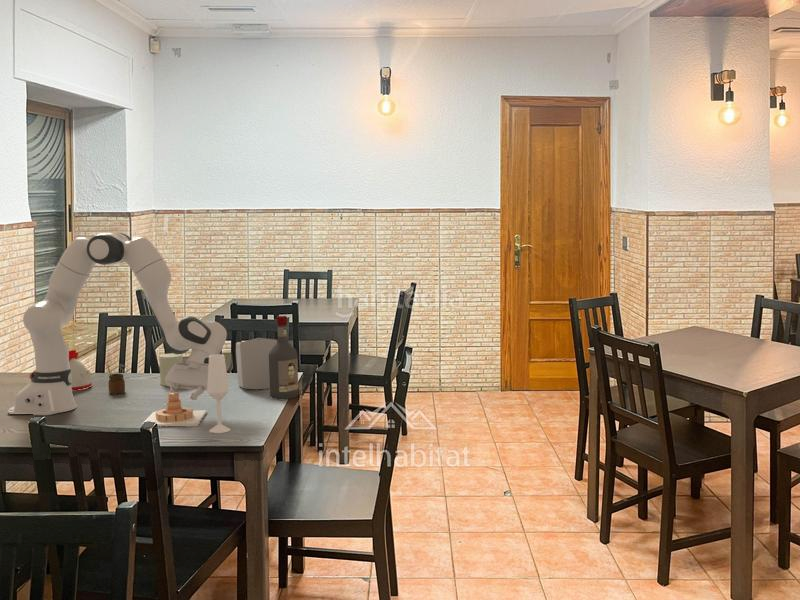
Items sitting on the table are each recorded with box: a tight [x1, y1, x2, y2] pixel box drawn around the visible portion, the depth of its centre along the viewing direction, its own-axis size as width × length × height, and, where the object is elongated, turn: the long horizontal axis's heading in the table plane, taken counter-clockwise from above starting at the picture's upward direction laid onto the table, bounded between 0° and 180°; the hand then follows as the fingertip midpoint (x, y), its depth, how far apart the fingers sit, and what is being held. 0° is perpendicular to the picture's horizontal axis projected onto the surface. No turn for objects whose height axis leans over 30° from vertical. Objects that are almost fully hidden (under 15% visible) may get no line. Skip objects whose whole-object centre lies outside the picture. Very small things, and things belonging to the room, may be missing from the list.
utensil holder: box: [106, 362, 126, 395], centre depth 341 cm, size 6×6×12 cm
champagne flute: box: [206, 353, 231, 434], centre depth 282 cm, size 7×7×24 cm
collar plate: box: [140, 406, 207, 428], centre depth 298 cm, size 18×18×3 cm
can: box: [158, 352, 184, 387], centre depth 357 cm, size 9×9×12 cm
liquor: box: [269, 315, 299, 400], centre depth 329 cm, size 9×9×30 cm
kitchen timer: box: [68, 349, 93, 390], centre depth 352 cm, size 14×14×15 cm
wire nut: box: [166, 391, 182, 414], centre depth 297 cm, size 5×5×8 cm
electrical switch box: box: [235, 337, 278, 390], centre depth 350 cm, size 15×15×20 cm
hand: (181, 398), depth 300 cm, fingers open, 8 cm apart
